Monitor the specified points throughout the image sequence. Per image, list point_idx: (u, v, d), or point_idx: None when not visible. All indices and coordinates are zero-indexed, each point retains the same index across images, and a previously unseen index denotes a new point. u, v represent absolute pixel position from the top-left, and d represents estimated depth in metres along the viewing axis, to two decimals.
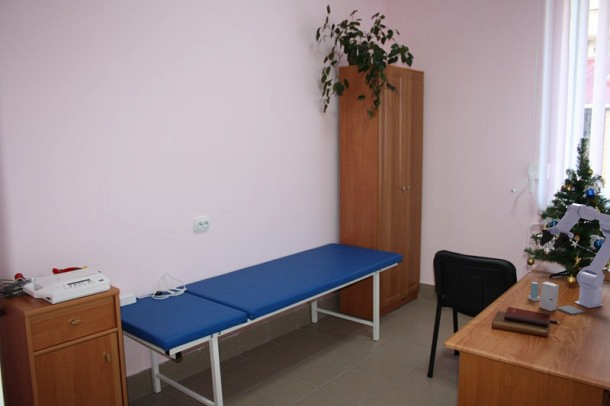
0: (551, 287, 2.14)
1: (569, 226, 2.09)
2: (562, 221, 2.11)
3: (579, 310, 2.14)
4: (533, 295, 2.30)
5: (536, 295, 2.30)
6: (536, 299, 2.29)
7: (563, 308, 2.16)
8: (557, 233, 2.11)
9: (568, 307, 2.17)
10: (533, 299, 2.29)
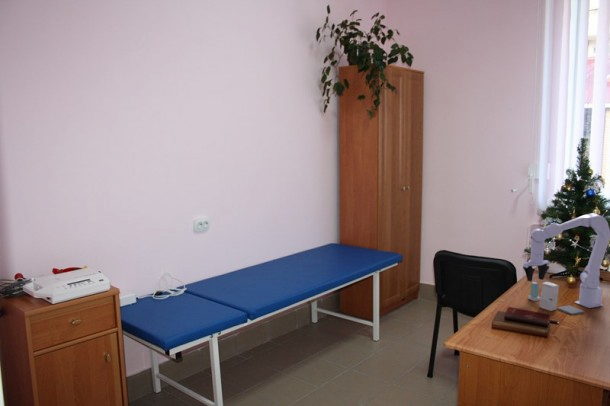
0: (551, 287, 2.14)
1: (532, 255, 2.27)
2: None
3: (579, 310, 2.14)
4: (533, 295, 2.30)
5: (536, 295, 2.30)
6: (536, 299, 2.29)
7: (563, 308, 2.16)
8: (535, 264, 2.29)
9: (568, 307, 2.17)
10: (533, 299, 2.29)
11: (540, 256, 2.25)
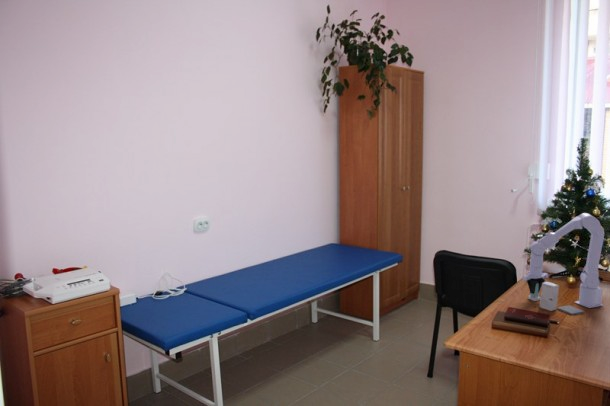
0: (551, 287, 2.14)
1: (531, 268, 2.28)
2: None
3: (579, 310, 2.14)
4: (533, 295, 2.30)
5: (536, 295, 2.30)
6: (536, 299, 2.29)
7: (563, 308, 2.16)
8: (534, 277, 2.30)
9: (568, 307, 2.17)
10: (533, 299, 2.29)
11: (539, 269, 2.26)
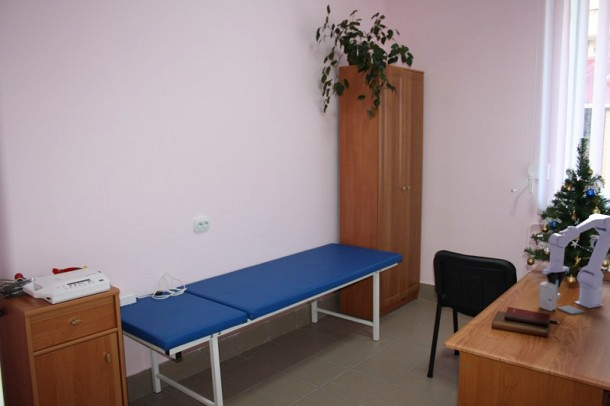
0: (549, 288, 2.13)
1: (551, 261, 2.16)
2: None
3: (579, 310, 2.14)
4: None
5: (556, 292, 2.18)
6: (556, 296, 2.17)
7: (563, 308, 2.16)
8: None
9: (568, 307, 2.17)
10: None
11: (560, 262, 2.14)
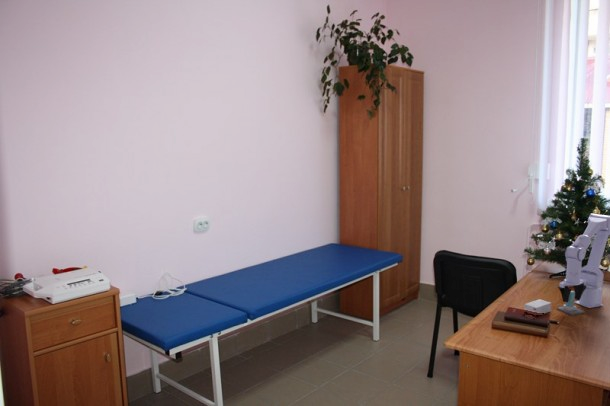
0: None
1: (568, 274, 2.12)
2: None
3: (579, 310, 2.14)
4: (569, 304, 2.15)
5: (572, 305, 2.14)
6: (572, 309, 2.14)
7: (563, 308, 2.16)
8: (571, 284, 2.14)
9: None
10: (569, 309, 2.14)
11: (577, 275, 2.10)
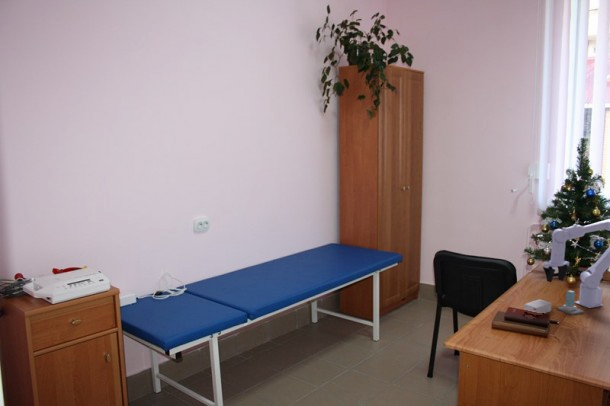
0: None
1: (552, 255, 2.24)
2: None
3: (579, 310, 2.14)
4: (569, 304, 2.15)
5: (572, 305, 2.14)
6: (572, 309, 2.14)
7: (563, 308, 2.16)
8: (555, 265, 2.26)
9: None
10: (569, 309, 2.14)
11: (561, 257, 2.22)
